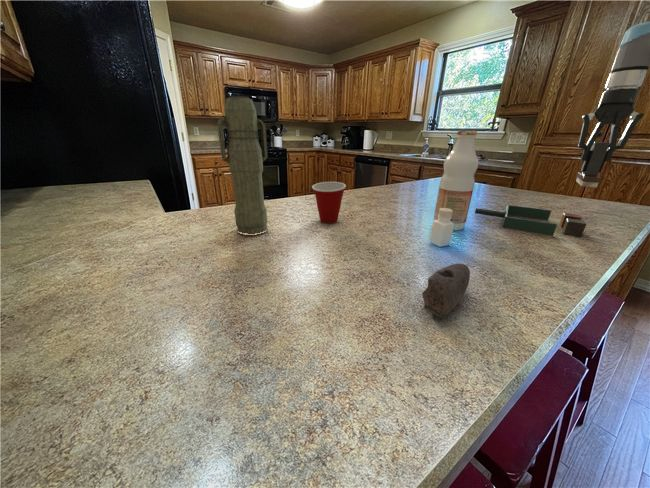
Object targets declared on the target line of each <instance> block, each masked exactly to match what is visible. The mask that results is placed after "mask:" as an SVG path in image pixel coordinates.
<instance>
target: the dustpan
mask: <svg viewBox="0 0 650 488" xmlns="http://www.w3.org/2000/svg"><path fill="white" fill-rule="evenodd" d="M551 213H552V210H551V209H545V208H544V209H543V208H538V207H537V208H536V207H530V206H523V205H522V206H521V205H514V204H507V205H506V208H505V211H501V210H493V209H486V208H479V207H475V211H474V214H476V215H480V216H481V215H482V216H489V217H494V218H501V219H503V221H502V228H506V229H511V230H515V231H516V230H518V231H524V232H527V233H535V234H539V235H540V234H541V235H547V236H554V234H555V232H556V230H557V226H558V223H554V222H553V223H552V222H547V221H549V219H550V216H551ZM513 216H514V217H513ZM515 216H516V217H515ZM519 217H520V218H519ZM521 217H522V218H521ZM526 218H529V219H526ZM532 219H535V220H532ZM539 220H543V221H539Z"/></svg>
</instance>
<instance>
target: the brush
mask: <svg viewBox="0 0 650 488" xmlns="http://www.w3.org/2000/svg"><path fill="white" fill-rule="evenodd" d="M609 144H610V143H609V141H608V142H607V141H595V142H594V144H593V145H592V147H591V149H590V150H592V151H593V152H592V154H591V157H590V160H589V162H588V165H587V168H586V170H585V172H582V171H578V172H577V174H576V179H575V182H576V183H577V184H579V185H580V187H586V188H598V185H599V184H600V183H601V181H602V177H601V176H599V173H598V172H599V170H600V167H601V165H602V162H603V159H604V157H605V154H606V152H607V150H608V147H609Z"/></svg>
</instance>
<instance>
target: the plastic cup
mask: <svg viewBox="0 0 650 488" xmlns="http://www.w3.org/2000/svg"><path fill="white" fill-rule="evenodd" d="M346 187H347V184H345V183H344V182H340V181H322V182H321V181H320V182H318V183H315V184H312V186H311V189H312V190H313V193H314V196H315V202H316V207H317V211H318V217H319V221H320V222H321V223H323V224H334V223H337V222H338V220H339V214H340V211H341V205H342V201H343V196H344V192H345V190H346Z"/></svg>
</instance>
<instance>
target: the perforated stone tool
mask: <svg viewBox="0 0 650 488" xmlns="http://www.w3.org/2000/svg"><path fill="white" fill-rule="evenodd" d="M470 278H471V270H470V267H469V266H468V265H466V264H464V263H453V264H450V265H447V266H445V267H442V268H441V269H439V270H436V271H435V272H434V273H432V275H430V276H429V277H428V278H427V287H426V288H425V289H424V290H423V291H422V293H421V295H422V299H423V302H424V303H423V304H424V305H423V306H424V308H425V309H426V310H428V312H429V313H432V314H433V315H434V316H436V317H437V318H439V319H442V318H444V317H446V316H447V315H448V314H449V313H451V312H452V311H453V310H454V309H455V307H456V306H457V305H458V304H459V302H461V300H462V298H463V296H464V295H465V293H466V290H467V289H468V286H469V283H470Z"/></svg>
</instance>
